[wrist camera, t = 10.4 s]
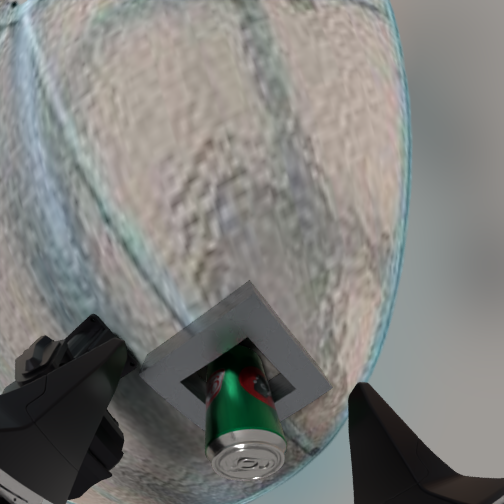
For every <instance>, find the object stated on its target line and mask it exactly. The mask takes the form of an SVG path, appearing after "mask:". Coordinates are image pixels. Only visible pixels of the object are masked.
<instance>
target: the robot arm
mask: <svg viewBox="0 0 504 504" xmlns="http://www.w3.org/2000/svg"><path fill="white" fill-rule="evenodd" d="M92 318H94V319H95V321H93V320H92ZM131 362H133V363H134V364H132V363H131ZM137 365H138V361H137V360H136V359H135V358H134V357H133V356H132V355H131V354H130V353H129V352H128V351H127V350H126V344H125V341H124V340H122V339H119V338H116V337H115V335H114V334H113V333H112V332H111V331H110V330H109V329H108V328H107V327H106V326H105V325H104V324H103V322H102V321H101V320H100V319H99V317H98V316H97V315H95V314H91V315H90V316H89V317H88V318H87V319H86V320H85V321H84V322H82V323H81V324H80V325H79V326H78V327H77V328H76V329H75V330H74V331H73V332H72V333H71V334H70V335H69V336H68V337H67V338H66V339H64V340H60V341H55V342H54V340H52V339H50V338H49V337H47V336H46V335H45V336H41V337H40V338H39V339H37V340H36V341H35V342H34V343H33V344H32V345H31V346H30V347H29V349H27V350H25V351H24V352H23V354H22V355H21V356H19V357H18V358H17V359H16V360H15V379H16V381H15V382H13V383H12V384H10V385H9V386H7V387H6V388H5V389H4V391H3V394H1V395H0V504H41V503H42V501H43V499H46V500H48V501H50V502H51V503H53V504H66V502H67V500H71V499H75V498H79V497H81V496H82V495H83V494H84V493H85V492H86V491H87V490H88V489H89V488H90V487H92V486H93V485H94V484H96V483H98V482H99V481H101V480H104V479H107V478H110V477H112V473H111V472H109V471H110V470H111V469H112V468H113V467H115V465H116V464H117V463H119V461H120V460H121V458H122V457H123V454H124V453H123V452H122V448H123V444H124V436H123V433H122V431H121V430H120V428H119V424H118V422H117V421H116V419H115V418H113V417H112V416H111V414H110V413H109V412H108V410H107V407H108V405H109V403H110V401H111V399H112V397H113V395H114V393H115V390H116V388H117V385H118V382H119V379H120V378H122V377H123V376H125V375H126V374H128V373H129V372H131V371H132V370H133V369H135V368H136V367H137ZM348 411H349V441H350V449H351V461H352V474H353V489H354V504H504V478H480V477H469V476H463V475H460V474H458V473H457V472H455V471H454V470H453V469H451V468H450V467H449V466H448V465H447V464H445V463H444V462H443V461H442V460H441V459H440V458H439V457H437V456H436V455H435V454H434V453H433V452H432V451H431V450H430V449H429V448H428V447H427V446H426V445H425V444H424V443H423V442H422V441H421V440H420V439H419V438H418V436H417V435H416V434H415V433H414V432H413V431H412V430H411V429H410V428H409V427H408V426H407V425H406V423H405V422H404V421H403V420H402V419H401V418H400V417H399V416H398V415H397V414H396V413H395V412H394V411H393V409H392V408H391V407H390V406H389V405H388V404H387V403H386V402H385V401H384V400H383V398H382V397H381V396H380V395H379V394H378V393H377V392H376V391H375V390H374V389H373V388H372V387H371V385H370V384H369V383H366V382H359V383H357V384H356V386H355V387H354V389H353V390H352V392H351V393H350V395H349V399H348Z"/></svg>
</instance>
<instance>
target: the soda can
mask: <svg viewBox="0 0 504 504" xmlns="http://www.w3.org/2000/svg"><path fill="white" fill-rule="evenodd" d="M286 450H287V442H286V439H285V436H284V433H283V429H282V426H281V423H280V420H279V417H278V414H277V411H276V407H275V404H274V401H273V398H272V395H271V391H270V388H269V385H268V382H267V378H266V375H265V372H264V369H263V365H262V362H261V359H260V357H259V356H258V355H257V353H256V352H254V351H253V350H252V349H250V348H248V347H245V346H240V345H235V346H234V347H232V348H231V349H229V350H228V351H226V352H225V353H223V354H222V355H220V356H219V357H217V358H216V359H214V360H213V361H211V362H210V363H208V364H207V382H206V416H205V454H206V457H207V459H208V460H209V461H210V462H211V465H212V468H213V470H214V471H215V472H216V473H217V474H218V475H220V476H222V477H224V478H227V479H230V480H236V481H252V480H258V479H262V478H265V477H267V476H270V475H272V474H274V473H275V472H277V471H278V470H279V469H280V468H281V467H282V466H283V464H284V461H285V456H284V455H285V453H286Z"/></svg>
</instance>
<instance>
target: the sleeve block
mask: <svg viewBox="0 0 504 504" xmlns="http://www.w3.org/2000/svg"><path fill="white" fill-rule="evenodd" d="M247 337H248V338H249V339H250V340H251V341H252V342H253V343H254V344H255V345H256V347H257V348H258V349H259V350H260V351H261V352H262V353H263V354H264V355H265V356H266V358H267V359H268V360H269V361H270V362H271V363H272V364H273V365H274V366H275V367H276V368H277V369H278V370H279V371H280V374H278V375H277V376H275V377H274V378H272V379H271V380H269V381H268V385H269V388H270V391H271V395H272V398H273V401H274V404H275V407H276V411H277V414H278V417H279V420H280V421H282V420H284V419H285V418H287V417H289V416H290V415H292V414H294V413H295V412H297V411H299V410H300V409H302V408H303V407H305V406H306V405H308V404H310V403H311V402H313V401H314V400H316V399H317V398H319V397H320V396H321V395H323V394H324V393H326V392H327V391H329V390H330V389H331V388H333V387H332V386H331V384H330V383H329V381H328V379H327V378H326V376H325V375H324V373H323V372H322V370H321V369H320V367H319V366H318V365H317V364H316V362H315V361H314V360H313V359H312V358H311V356H310V355H309V354H308V353H307V351H306V350H305V349H304V348H303V347H302V345H301V344H300V343H299V342H298V340H297V339H296V338H295V337H294V335H293V334H292V333H291V332H290V330H289V329H288V328H287V327H286V325H285V324H284V323H283V322H282V320H281V319H280V318H279V317H278V315H277V314H276V313H275V312H274V310H273V309H272V308H271V307H270V305H269V304H268V303H267V302H266V300H265V299H264V298H263V297H262V295H261V294H260V293H259V292H258V290H257V289H256V288H255V287H254V285H253V284H252V283H251V281H250V280H249V281H248V282H246V283H245V284H244V285H242V286H241V287H240V288H238V289H237V290H236V291H234V292H233V293H232V294H230V295H229V296H228V297H226V298H225V299H224V300H222V301H221V302H219V303H218V304H217V305H215V306H214V307H213V308H211V309H210V310H209V311H207V312H206V313H204V314H203V315H202V316H200V317H199V318H198V319H196V320H195V321H194V322H192V323H191V324H189V325H188V326H187V327H185V328H184V329H182V330H181V331H180V332H178V333H177V334H176V335H174V336H173V337H171V338H170V339H169V340H167V341H166V342H164V343H163V344H162V345H160V346H159V347H157V348H156V349H155V350H153V351H152V352H150V353H149V354H147V356H146V358H145V361H144V363H143V365H142V367H141V370H140V372H139V374H138V375H139V376H140V377H141V378H142V379H143V380H144V381H145V382H146V383H147V384H148V385H149V386H151V387H152V388H153V389H154V390H155V391H156V392H157V393H158V394H159V395H161V396H162V397H163V398H164V399H165V400H166V401H167V402H169V403H170V404H171V405H172V406H173V407H174V408H176V409H177V410H178V411H179V412H181V413H182V414H183V415H184V416H186V417H187V418H188V419H189V420H191V421H192V422H193V423H194V424H196V425H197V426H198V427H200V428H201V429H202V430H204V431H205V416H206V381H205V380H203V379H202V378H201V377H200V376H199V375H198V374H197V373H196V371H198V370H199V369H201V368H202V367H204V366H205V365H207V364H208V363H210V362H211V361H213V360H214V359H216V358H217V357H219V356H220V355H222V354H223V353H225V352H226V351H228V350H229V349H231V348H232V347H234V346H235V345H237V344H238V343H240V342H241V341H242V340H244V339H245V338H247Z"/></svg>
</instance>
